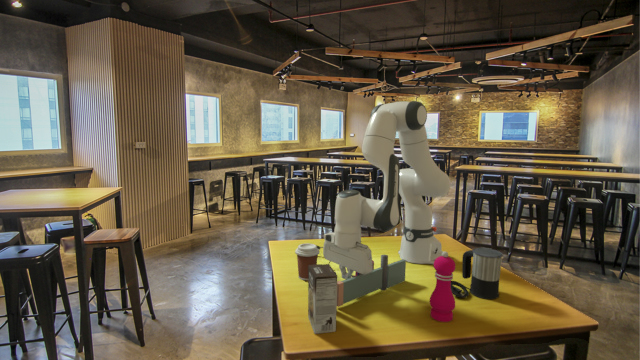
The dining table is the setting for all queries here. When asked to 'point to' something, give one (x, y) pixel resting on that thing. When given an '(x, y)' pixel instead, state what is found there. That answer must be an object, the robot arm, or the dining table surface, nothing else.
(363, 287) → the grey-green hurdle bar
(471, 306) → the dining table surface
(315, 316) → the coffee box
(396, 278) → the fence
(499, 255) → the milk frother
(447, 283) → the pepper mill
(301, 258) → the coffee cup
